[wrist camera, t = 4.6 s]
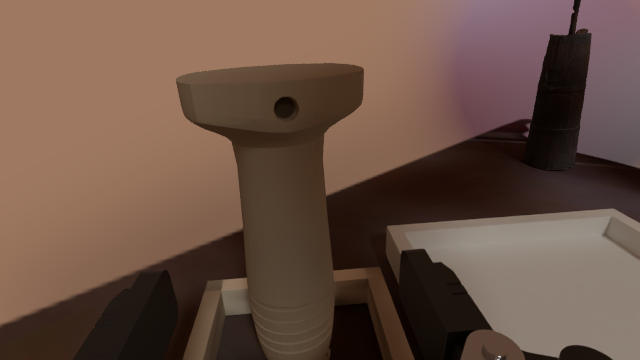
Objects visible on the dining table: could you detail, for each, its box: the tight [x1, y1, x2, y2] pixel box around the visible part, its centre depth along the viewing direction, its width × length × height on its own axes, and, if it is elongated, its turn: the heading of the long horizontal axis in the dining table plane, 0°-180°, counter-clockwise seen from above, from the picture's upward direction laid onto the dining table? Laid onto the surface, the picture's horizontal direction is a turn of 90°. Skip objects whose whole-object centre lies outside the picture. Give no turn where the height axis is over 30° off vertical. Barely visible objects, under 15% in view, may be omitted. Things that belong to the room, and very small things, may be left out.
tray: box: [386, 209, 640, 360], centre depth 19 cm, size 18×18×2 cm
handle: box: [176, 63, 364, 360], centre depth 15 cm, size 5×6×15 cm
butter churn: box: [523, 0, 591, 170], centre depth 37 cm, size 9×10×28 cm
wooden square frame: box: [183, 267, 414, 360], centre depth 18 cm, size 11×10×2 cm
